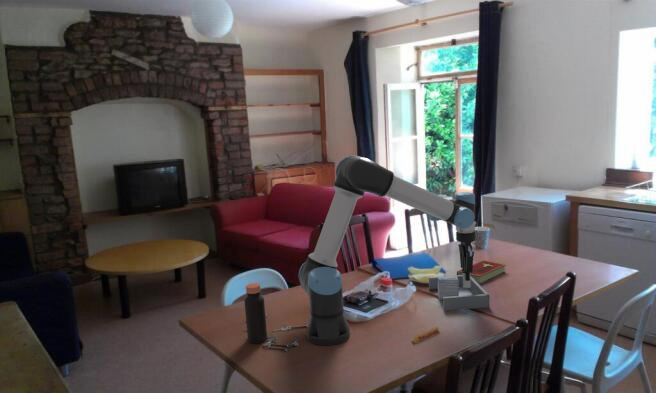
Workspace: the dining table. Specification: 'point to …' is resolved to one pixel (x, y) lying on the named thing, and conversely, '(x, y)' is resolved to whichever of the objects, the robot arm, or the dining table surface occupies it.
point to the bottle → (255, 314)
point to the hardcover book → (485, 270)
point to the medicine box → (448, 286)
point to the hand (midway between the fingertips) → (466, 287)
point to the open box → (463, 302)
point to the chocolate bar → (425, 335)
